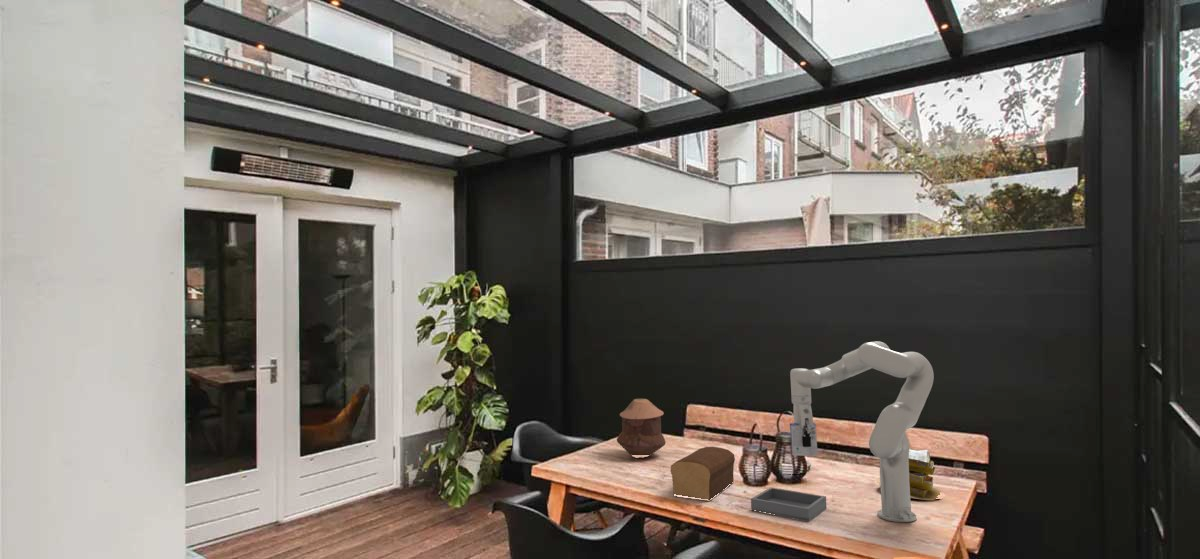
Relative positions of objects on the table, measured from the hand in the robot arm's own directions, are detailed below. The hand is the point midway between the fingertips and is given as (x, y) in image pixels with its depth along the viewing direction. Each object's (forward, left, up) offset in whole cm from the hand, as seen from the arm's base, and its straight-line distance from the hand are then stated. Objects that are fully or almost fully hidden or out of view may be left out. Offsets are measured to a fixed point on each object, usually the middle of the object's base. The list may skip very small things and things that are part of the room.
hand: (803, 444), depth 246 cm
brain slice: (+45, -9, -22) cm, 51 cm away
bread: (+16, +38, -22) cm, 46 cm away
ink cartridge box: (0, 0, -4) cm, 4 cm away
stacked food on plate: (+4, -44, -22) cm, 49 cm away
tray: (-13, +11, -21) cm, 27 cm away
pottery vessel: (+80, +59, -21) cm, 102 cm away
